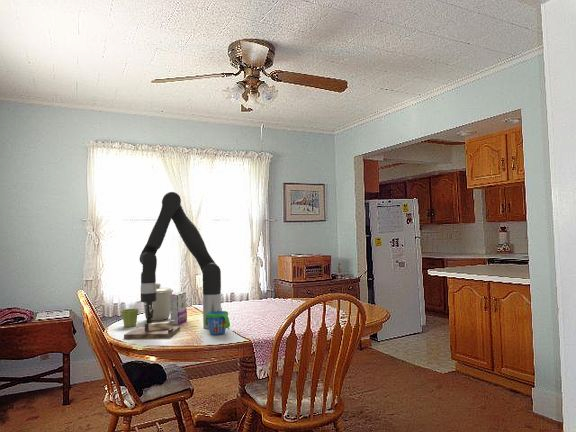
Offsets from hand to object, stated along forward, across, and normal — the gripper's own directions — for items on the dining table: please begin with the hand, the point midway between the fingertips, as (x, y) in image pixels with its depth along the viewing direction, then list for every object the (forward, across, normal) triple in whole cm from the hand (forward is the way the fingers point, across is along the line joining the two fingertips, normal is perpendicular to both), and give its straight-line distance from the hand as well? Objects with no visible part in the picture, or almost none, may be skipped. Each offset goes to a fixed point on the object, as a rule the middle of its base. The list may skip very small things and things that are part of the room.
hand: (149, 326), depth 214 cm
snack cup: (+3, -21, -29) cm, 36 cm away
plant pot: (+4, +25, +7) cm, 27 cm away
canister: (+4, +37, -10) cm, 38 cm away
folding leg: (+1, -4, -5) cm, 6 cm away
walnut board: (+3, -5, -1) cm, 6 cm away
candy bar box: (+4, +19, -18) cm, 27 cm away
